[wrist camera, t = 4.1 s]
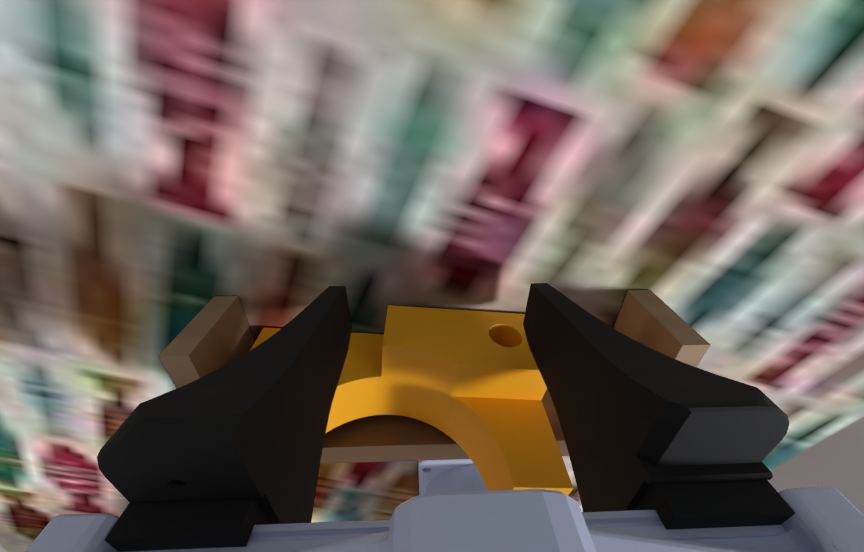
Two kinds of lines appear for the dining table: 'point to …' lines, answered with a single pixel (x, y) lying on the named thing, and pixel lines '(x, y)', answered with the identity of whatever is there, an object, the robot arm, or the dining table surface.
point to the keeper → (393, 434)
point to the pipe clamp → (457, 389)
